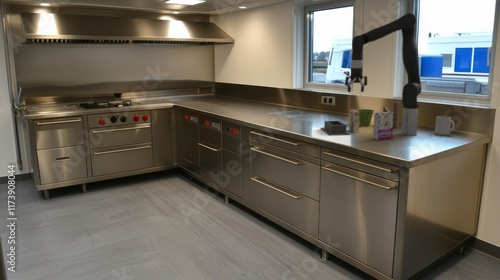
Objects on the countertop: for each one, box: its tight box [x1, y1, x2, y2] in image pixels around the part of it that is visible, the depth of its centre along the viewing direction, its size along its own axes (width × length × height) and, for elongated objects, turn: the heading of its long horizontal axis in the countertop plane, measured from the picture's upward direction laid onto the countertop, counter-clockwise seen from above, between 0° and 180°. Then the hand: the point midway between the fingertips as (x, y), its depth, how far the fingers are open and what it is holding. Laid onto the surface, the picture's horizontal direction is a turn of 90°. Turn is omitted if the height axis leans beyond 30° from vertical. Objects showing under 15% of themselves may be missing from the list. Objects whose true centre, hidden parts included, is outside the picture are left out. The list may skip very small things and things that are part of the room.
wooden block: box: [382, 101, 400, 129], centre depth 280 cm, size 4×11×18 cm, turn 44°
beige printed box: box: [348, 109, 360, 134], centre depth 266 cm, size 10×3×14 cm, turn 5°
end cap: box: [320, 120, 352, 136], centre depth 266 cm, size 22×14×6 cm, turn 5°
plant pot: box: [356, 108, 375, 127], centre depth 286 cm, size 12×12×11 cm
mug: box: [434, 115, 456, 136], centre depth 254 cm, size 12×8×11 cm
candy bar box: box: [372, 111, 394, 141], centre depth 242 cm, size 11×5×16 cm, turn 114°
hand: (355, 92), depth 262 cm, fingers open, 8 cm apart
